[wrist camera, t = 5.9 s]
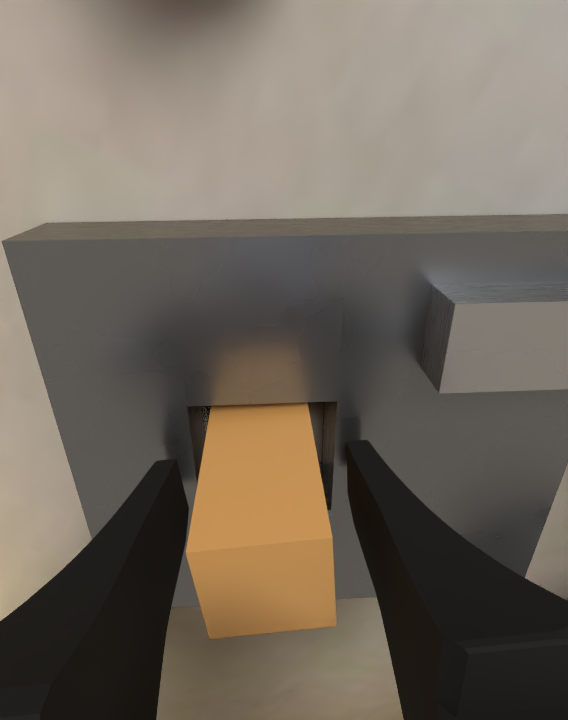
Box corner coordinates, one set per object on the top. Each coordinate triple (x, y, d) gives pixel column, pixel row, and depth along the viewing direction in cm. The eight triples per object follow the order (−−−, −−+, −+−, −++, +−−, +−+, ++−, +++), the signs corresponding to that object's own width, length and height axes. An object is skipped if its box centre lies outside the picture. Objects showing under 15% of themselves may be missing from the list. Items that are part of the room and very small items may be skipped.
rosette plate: (590, 213, 13) (710, 242, 10) (491, 539, 19) (541, 626, 16) (45, 223, 12) (-37, 256, 9) (130, 556, 19) (101, 652, 15)
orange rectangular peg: (301, 371, 15) (332, 537, 9) (306, 440, 16) (336, 625, 10) (215, 380, 15) (185, 553, 9) (227, 448, 16) (209, 639, 10)
